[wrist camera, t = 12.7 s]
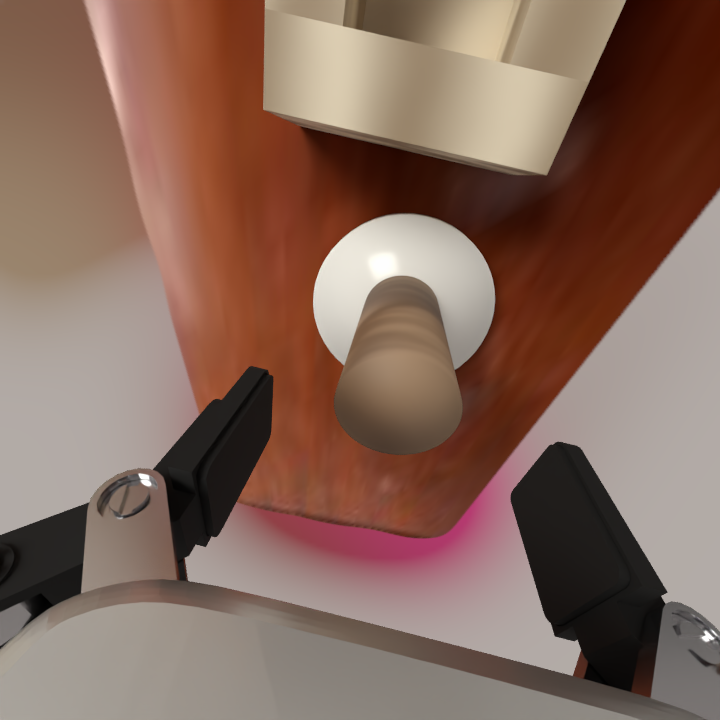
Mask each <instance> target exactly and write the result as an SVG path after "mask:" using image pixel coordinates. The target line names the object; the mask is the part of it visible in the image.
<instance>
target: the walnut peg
mask: <svg viewBox="0 0 720 720" xmlns="http://www.w3.org/2000/svg"><path fill="white" fill-rule="evenodd" d="M334 409H335V414H336V416H337V419H338V421H339V423H340V425H341V426H342V428H343V429H344V430H345V432H346V433H347V434H348V435H349V436H350V437H352V438H353V439H354V440H355V441H357V442H358V443H360V444H362V445H364V446H365V447H367V448H370V449H372V450H375V451H379V452H382V453H387V454H395V455H407V454H415V453H420V452H424V451H427V450H430V449H432V448H434V447H436V446H438V445H440V444H441V443H443V442H444V441H446V440H447V439H448V438H449V437H450V436H451V435H452V434H453V433H454V431H455V430H456V428H457V427H458V425H459V423H460V420H461V416H462V409H463V405H462V398H461V394H460V390H459V386H458V382H457V378H456V374H455V370H454V365H453V361H452V357H451V353H450V349H449V345H448V341H447V337H446V333H445V329H444V324H443V320H442V316H441V312H440V308H439V304H438V300H437V297H436V295H435V293H434V292H433V290H432V289H431V288H430V287H429V286H428V285H427V284H426V283H424V282H423V281H421V280H419V279H417V278H414V277H411V276H393V277H390V278H387V279H385V280H383V281H381V282H379V283H378V284H377V285H376V286H375V287H373V289H372V290H371V291H370V293H369V294H368V296H367V298H366V301H365V304H364V307H363V310H362V313H361V316H360V319H359V322H358V325H357V328H356V331H355V334H354V337H353V340H352V344H351V347H350V350H349V353H348V356H347V359H346V362H345V365H344V368H343V371H342V374H341V377H340V380H339V383H338V386H337V389H336V393H335V397H334Z"/></svg>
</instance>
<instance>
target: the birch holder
mask: <svg viewBox="0 0 720 720" xmlns="http://www.w3.org/2000/svg"><path fill="white" fill-rule="evenodd" d="M625 2H626V0H265V40H264V101H263V110H265V111H268V112H270V113H272V114H274V115H276V116H279V117H281V118H283V119H285V120H287V121H290V122H292V123H294V124H296V125H298V126H302V127H306V128H310V129H314V130H319V131H323V132H327V133H332V134H336V135H340V136H345V137H349V138H353V139H358V140H362V141H366V142H371V143H375V144H379V145H384V146H388V147H392V148H396V149H401V150H405V151H409V152H414V153H418V154H422V155H427V156H431V157H435V158H440V159H444V160H448V161H453V162H457V163H461V164H465V165H470V166H474V167H478V168H483V169H487V170H491V171H496V172H500V173H504V174H509V175H547V174H548V171H549V169H550V167H551V165H552V163H553V160H554V158H555V156H556V154H557V152H558V149H559V147H560V145H561V143H562V141H563V138H564V136H565V134H566V132H567V130H568V127H569V125H570V123H571V121H572V119H573V116H574V114H575V112H576V110H577V107H578V105H579V103H580V101H581V99H582V96H583V94H584V92H585V90H586V88H587V85H588V83H589V81H590V79H591V77H592V74H593V72H594V70H595V68H596V66H597V63H598V61H599V59H600V57H601V55H602V52H603V50H604V48H605V46H606V44H607V41H608V39H609V37H610V35H611V33H612V30H613V28H614V26H615V24H616V22H617V19H618V17H619V15H620V13H621V11H622V8H623V6H624V4H625Z"/></svg>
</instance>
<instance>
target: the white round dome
mask: <svg viewBox="0 0 720 720" xmlns="http://www.w3.org/2000/svg"><path fill="white" fill-rule="evenodd" d="M393 276H411V277H414V278H417V279H419V280H421V281H423V282H424V283H426V284H427V285H428V286H429V287H430V288H431V289H432V290H433V292H434V293H435V295H436V297H437V300H438V304H439V308H440V312H441V316H442V320H443V324H444V329H445V333H446V337H447V341H448V345H449V349H450V353H451V357H452V361H453V365H454V370H455V369H457V368H458V367H460V366H461V365H462V364H463V363H465V362H466V361H467V360H468V359H469V358H470V357H471V356H472V355H473V354H474V353H475V352H476V350H477V349H478V348H479V346H480V345H481V344H482V342H483V340H484V338H485V336H486V335H487V333H488V330H489V327H490V325H491V322H492V318H493V314H494V306H495V289H494V284H493V279H492V275H491V272H490V270H489V267H488V265H487V263H486V261H485V259H484V257H483V256H482V254H481V253H480V251H479V250H478V249H477V247H476V246H475V245H474V244H473V243H472V242H471V241H470V240H469V239H468V238H467V237H466V236H465V235H464V234H463V233H462V232H461V231H459V230H458V229H456V228H455V227H454V226H452V225H451V224H449V223H447V222H444V221H442V220H440V219H438V218H435V217H431V216H428V215H424V214H417V213H395V214H388V215H384V216H381V217H377V218H374V219H372V220H369V221H367V222H365V223H363V224H361V225H360V226H358V227H356V228H355V229H353V230H352V231H351V232H349V233H348V234H347V235H346V236H345V237H343V238H342V239H341V240H340V241H339V242H338V244H337V245H336V246H335V247H334V248H333V249H332V250H331V252H330V253H329V255H328V256H327V257H326V259H325V260H324V262H323V264H322V266H321V268H320V270H319V273H318V276H317V279H316V283H315V288H314V297H313V307H314V316H315V320H316V325H317V327H318V330H319V333H320V335H321V337H322V339H323V341H324V343H325V344H326V346H327V347H328V349H329V350H330V351H331V353H332V354H333V355H334V356H335V357H336V358H337V359H338V360H339V361H340V362H341V363H342V364H343V365H345V362H346V359H347V356H348V353H349V350H350V347H351V344H352V340H353V337H354V334H355V331H356V328H357V325H358V322H359V319H360V316H361V313H362V310H363V307H364V304H365V301H366V298H367V296H368V294H369V293H370V291H371V290H372V289H373V287H375V286H376V285H377V284H378V283H379V282H381V281H383V280H385V279H387V278H390V277H393Z"/></svg>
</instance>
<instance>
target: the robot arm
mask: <svg viewBox="0 0 720 720" xmlns="http://www.w3.org/2000/svg"><path fill="white" fill-rule="evenodd" d="M272 399H273V376H271V375H269V372H268V370H265V369H261V368H257V367H253V366H250V367H249V368H248V369H247V370H246V371H245V373H244V374H243V375H242V376H241V377H240V379H239V380H238V381H237V382H236V384H235V385H234V386H233V387H232V388H231V390H230V391H229V392H228V393H227V395H226V396H225V397H224V398H223V399H222V400H220V399H215V400H213V401H212V402H211V403H210V404H209V405H208V406H207V407H206V408H205V409H204V411H203V412H202V413H201V414H200V415H199V416H198V418H197V419H196V420H195V421H194V422H193V424H192V425H191V426H190V427H189V428H188V429H187V430H186V432H185V433H184V434H183V435H182V436H181V437H180V439H179V440H178V441H177V442H176V443H175V444H174V446H173V447H172V448H171V449H170V450H169V451H168V453H167V454H166V455H165V456H164V457H163V458H162V460H161V461H160V462H159V463H158V464H157V465H156V467H155V468H154V469H153V470H151V469H141V468H138V469H133V470H128V471H125V472H123V473H120V474H117V475H115V476H114V477H113V478H111V479H109V480H108V481H106V482H105V483H104V484H102V485H101V486H100V487H99V488H98V489H97V490H96V492H95V493H94V494H93V496H92V497H91V499H90V502H89V503H87V504H84V505H81V506H78V507H76V508H73V509H70V510H67V511H65V512H62V513H60V514H57V515H54V516H51V517H48V518H46V519H43V520H40V521H38V522H35V523H32V524H29V525H27V526H24V527H21V528H19V529H16V530H13V531H10V532H8V533H5V534H2V535H0V720H720V632H719V631H718V629H717V628H715V626H714V625H713V624H711V623H710V622H709V621H708V620H707V619H706V618H704V617H703V616H702V615H701V614H699V613H698V612H696V611H695V610H693V609H692V608H690V607H688V606H686V605H684V604H682V603H678V602H669V603H667V604H665V602H664V601H663V599H662V597H661V596H662V595H664V594H666V593H667V591H666V589H665V587H664V586H663V584H662V582H661V581H660V579H659V577H658V576H657V574H656V572H655V571H654V569H653V567H652V566H651V564H650V562H649V561H648V559H647V557H646V556H645V554H644V552H643V551H642V549H641V548H640V546H639V544H638V542H637V541H636V539H635V537H634V536H633V535H632V533H631V531H630V529H629V528H628V526H627V524H626V523H625V521H624V519H623V518H622V516H621V515H620V513H619V511H618V510H617V508H616V506H615V504H614V503H613V501H612V499H611V498H610V496H609V494H608V493H607V491H606V489H605V488H604V486H603V484H602V483H601V481H600V479H599V478H598V476H597V474H596V473H595V471H594V470H593V468H592V466H591V465H590V463H589V461H588V460H587V458H586V456H585V455H584V453H583V451H582V450H581V449H580V448H579V447H578V446H575V445H570V444H567V443H563V442H556V443H555V444H553V445H549V446H548V448H547V449H546V450H545V451H544V452H543V454H542V455H541V456H540V457H539V459H538V460H537V461H536V462H535V463H534V465H533V466H532V467H531V468H530V470H529V471H528V472H527V473H526V475H525V476H524V477H523V478H522V480H521V481H520V482H519V483H518V484H517V486H516V487H515V488H514V489H513V491H512V493H511V504H512V506H513V510H514V514H515V517H516V520H517V524H518V527H519V530H520V534H521V537H522V541H523V544H524V547H525V550H526V554H527V557H528V561H529V564H530V568H531V571H532V574H533V577H534V581H535V584H536V588H537V591H538V595H539V598H540V601H541V605H542V608H543V611H544V614H545V617H546V618H547V620H548V621H549V622H550V623H551V625H552V628H553V632H554V635H555V636H556V637H559V638H564V639H567V640H571V641H576V640H577V639H578V642H579V645H580V647H581V652H580V655H579V658H578V661H577V665H576V668H575V671H574V674H573V676H570V675H567V674H562V673H559V672H555V671H551V670H548V669H544V668H540V667H536V666H532V665H529V664H525V663H521V662H517V661H513V660H510V659H506V658H502V657H498V656H494V655H491V654H487V653H482V652H479V651H475V650H471V649H467V648H464V647H460V646H456V645H452V644H448V643H444V642H440V641H436V640H433V639H429V638H425V637H421V636H417V635H413V634H409V633H405V632H402V631H398V630H394V629H390V628H385V627H382V626H378V625H374V624H370V623H366V622H362V621H358V620H355V619H350V618H346V617H342V616H338V615H334V614H331V613H327V612H323V611H319V610H314V609H311V608H307V607H303V606H299V605H295V604H291V603H287V602H283V601H279V600H275V599H270V598H266V597H262V596H258V595H253V594H249V593H244V592H240V591H236V590H232V589H227V588H223V587H219V586H213V585H207V584H201V583H195V582H189V581H188V578H187V570H186V564H185V557H187V556H189V555H190V553H191V551H192V550H193V548H194V546H195V544H196V545H200V546H204V547H206V546H207V544H208V542H209V540H210V538H211V536H213V537H217V536H218V535H219V533H220V532H221V530H222V528H223V526H224V524H225V522H226V521H227V519H228V517H229V515H230V513H231V511H232V509H233V507H234V505H235V503H236V501H237V500H238V498H239V496H240V494H241V492H242V490H243V488H244V486H245V484H246V482H247V481H248V479H249V477H250V475H251V473H252V471H253V469H254V467H255V465H256V463H257V462H258V460H259V458H260V456H261V454H262V452H263V450H264V448H265V446H266V444H267V442H268V440H269V438H270V435H271V424H272Z"/></svg>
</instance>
